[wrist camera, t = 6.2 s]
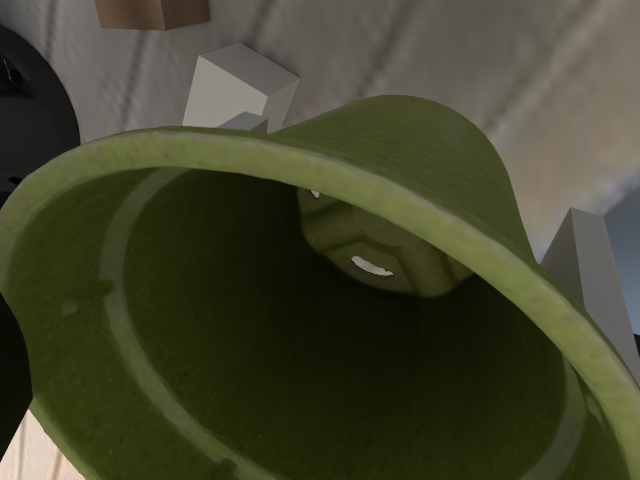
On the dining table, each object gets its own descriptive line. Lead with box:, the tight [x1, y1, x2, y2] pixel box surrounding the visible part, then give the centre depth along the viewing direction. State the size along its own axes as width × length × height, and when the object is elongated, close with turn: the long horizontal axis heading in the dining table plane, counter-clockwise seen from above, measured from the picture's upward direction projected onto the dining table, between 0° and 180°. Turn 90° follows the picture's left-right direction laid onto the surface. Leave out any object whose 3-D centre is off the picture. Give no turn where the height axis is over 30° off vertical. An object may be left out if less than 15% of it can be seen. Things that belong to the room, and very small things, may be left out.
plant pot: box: [0, 95, 640, 480], centre depth 10 cm, size 9×9×9 cm
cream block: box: [182, 42, 301, 134], centre depth 32 cm, size 5×5×5 cm
